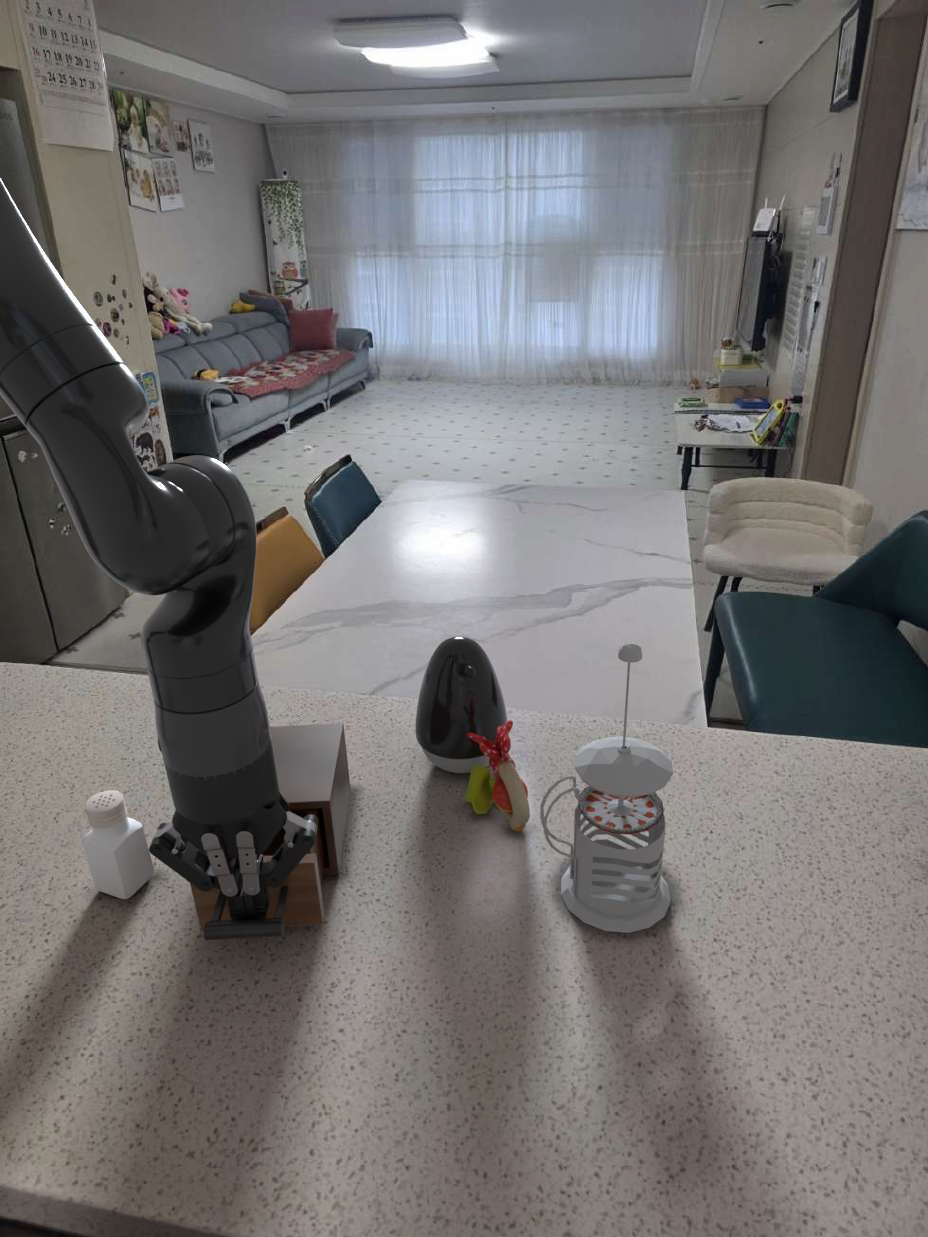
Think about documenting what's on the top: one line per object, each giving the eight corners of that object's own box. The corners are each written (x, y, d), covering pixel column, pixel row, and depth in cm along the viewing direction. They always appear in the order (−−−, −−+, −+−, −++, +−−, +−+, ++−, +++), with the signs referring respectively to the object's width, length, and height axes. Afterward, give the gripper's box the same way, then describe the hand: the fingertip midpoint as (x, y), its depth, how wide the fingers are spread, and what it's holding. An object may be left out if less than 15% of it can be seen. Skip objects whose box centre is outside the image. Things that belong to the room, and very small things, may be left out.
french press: (685, 928, 70) (715, 671, 59) (549, 939, 69) (554, 681, 58) (653, 849, 79) (674, 612, 68) (532, 857, 78) (534, 620, 67)
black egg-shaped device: (427, 795, 87) (419, 669, 80) (410, 741, 96) (402, 624, 89) (520, 779, 89) (520, 655, 82) (494, 727, 98) (492, 612, 91)
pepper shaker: (125, 863, 79) (103, 783, 75) (158, 874, 78) (137, 792, 73) (93, 892, 76) (69, 809, 72) (127, 904, 74) (104, 820, 70)
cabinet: (339, 875, 77) (329, 801, 73) (214, 881, 76) (198, 807, 73) (350, 790, 88) (343, 723, 84) (242, 795, 88) (229, 728, 84)
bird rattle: (544, 835, 84) (504, 763, 89) (570, 777, 76) (525, 702, 81) (490, 855, 82) (452, 780, 87) (511, 798, 73) (468, 719, 79)
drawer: (315, 971, 66) (306, 908, 63) (185, 978, 66) (169, 915, 63) (336, 834, 80) (329, 777, 78) (230, 839, 80) (218, 782, 77)
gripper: (316, 708, 62) (338, 882, 70) (140, 717, 62) (181, 891, 70) (303, 768, 56) (329, 952, 63) (105, 778, 55) (155, 963, 63)
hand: (251, 920), depth 66 cm, fingers closed
